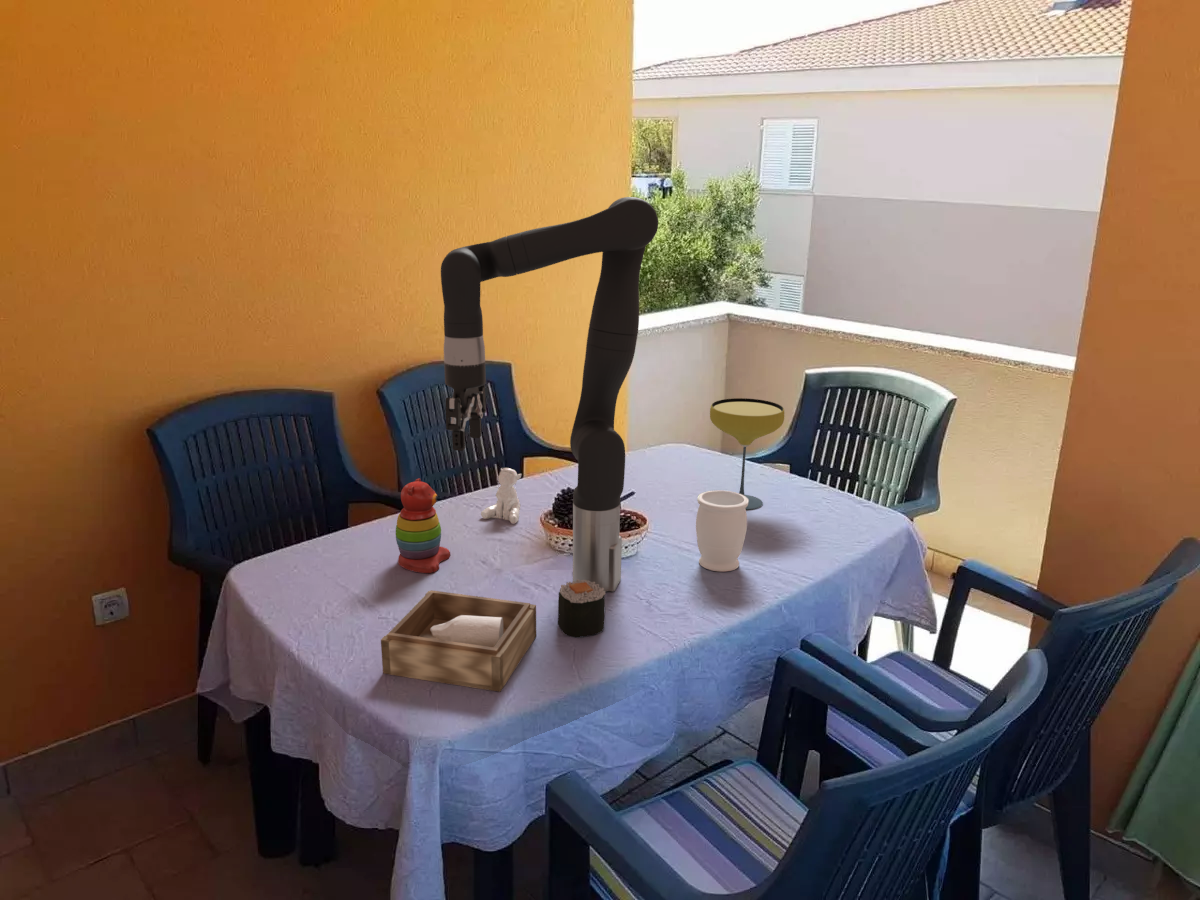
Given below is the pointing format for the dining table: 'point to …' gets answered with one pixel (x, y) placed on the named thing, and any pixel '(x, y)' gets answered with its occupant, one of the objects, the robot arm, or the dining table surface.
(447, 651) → the box
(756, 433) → the cocktail glass
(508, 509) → the sitting furry creature
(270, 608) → the dining table surface
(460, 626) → the roll
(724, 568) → the jar
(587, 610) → the sushi
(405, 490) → the stacking bear
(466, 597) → the upper crate
